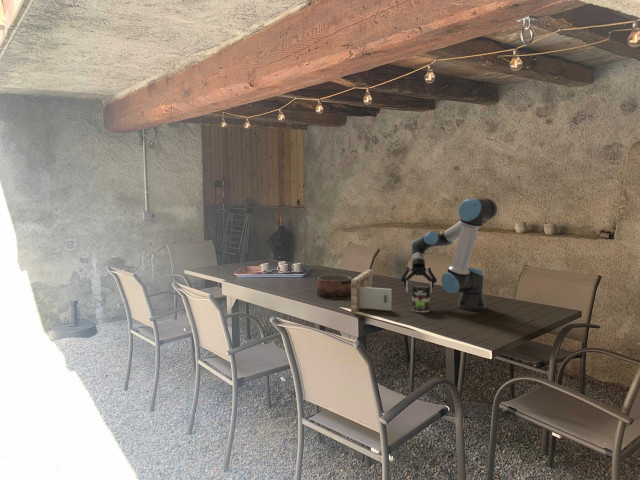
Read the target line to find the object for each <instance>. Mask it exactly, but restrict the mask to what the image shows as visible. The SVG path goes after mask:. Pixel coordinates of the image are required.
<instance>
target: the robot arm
mask: <svg viewBox="0 0 640 480" xmlns="http://www.w3.org/2000/svg"><path fill="white" fill-rule="evenodd" d="M497 213H498V205H497V203H496V202H495V200H492V199H490V198H467V199H465V200H463V201H462V202H461V203H460V204H459V206H458V217H459V218H460V220H459V221H458V222H456V223H455V224H453V225H452V226H450V227H448V228H447V229H446V230H444V231H442V232H441V233H437V232H436V231H432V230H431V231H428V232H427V233H425V234H424V235H423V236H422V237H421V238H416V239H413V241H412V244H411V256H412V257H411V260H412V261H411V267H409V266H407V267H406V270H405V272H404V273H403V275H402V276H401V278H400V279H401V280H400V282H401V283H402V282H403V286H404V288H405V293H407V294H408V293H409V292H408V290H409V289H408V288H409V287H408V283H409V281H410V280H411V279H412V278H413V277H414V276H420V277H421V276H423V277H424V278H425V280H426V279H427V281H428V282H429V286H431V288H430V294H432V292H433V288H434V287H435V286H434V285H435V284H436V283H437V281H438V279H437V278H436V276H435V275H434V273H433V271H432V269H431V267H428V268H426V255H425V254H426V251H428V250H429V249H430V248H433V247H442V246H443V247H445V246H446V247H447V246H450V245H453V242H454V241H455V240H457V239H458V241H457V245H456V249H455V252H454V256H453V260H452V264H450V265H449V266H448V268H447V272H445V273H443V274H442V275H441V279H440V282H441V285H442V287H443V289H444V290H445V292H448V293H449V294H457V293H461V294H460V295H459V299H458V301H457V307H458V308H459V309H462V310H467V311H484V310H485V309H486V302H485V299H484V295H483V290H484V270H483V269H481V268H474V267H469V265H470V262H471V259H472V258H471V257H472V254H473V250H474V247H475V243H476V239H477V235H478V231H479V229H480V228H482V227H483V225H484V224H486V223H488V222H489V221H491V220H493V219H494V218H495V217H496V216H497ZM409 272H411V273H410V274H409Z"/></svg>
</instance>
